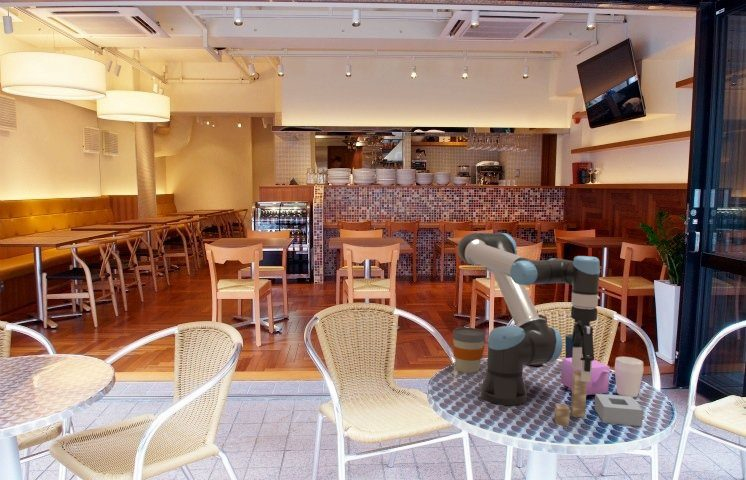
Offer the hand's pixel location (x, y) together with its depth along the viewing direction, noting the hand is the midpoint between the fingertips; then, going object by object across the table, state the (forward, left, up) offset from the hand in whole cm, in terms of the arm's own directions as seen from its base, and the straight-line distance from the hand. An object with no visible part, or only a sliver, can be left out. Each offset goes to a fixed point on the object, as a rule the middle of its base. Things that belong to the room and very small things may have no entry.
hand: (580, 374), depth 167 cm
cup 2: (+21, +23, -14) cm, 34 cm away
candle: (-7, +49, -14) cm, 52 cm away
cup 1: (+6, +40, -14) cm, 43 cm away
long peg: (0, 0, -13) cm, 13 cm away
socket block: (+12, +1, -13) cm, 18 cm away
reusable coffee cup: (-34, +37, -14) cm, 52 cm away
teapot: (+7, +20, -14) cm, 25 cm away
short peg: (-6, -7, -13) cm, 16 cm away
